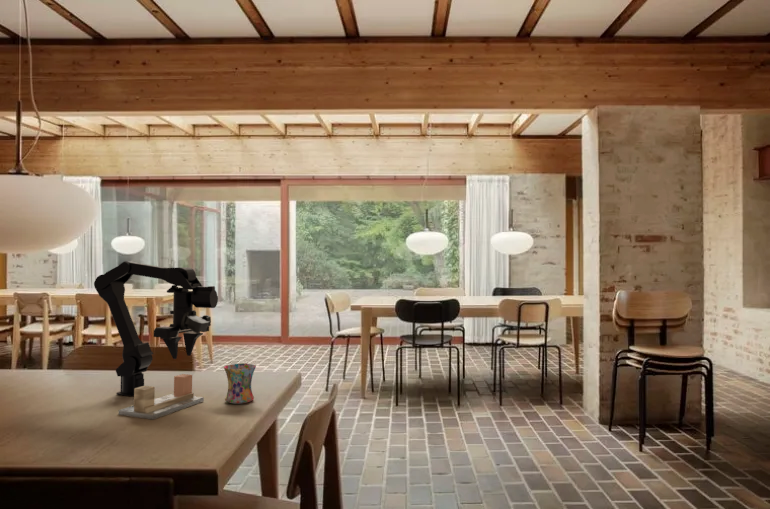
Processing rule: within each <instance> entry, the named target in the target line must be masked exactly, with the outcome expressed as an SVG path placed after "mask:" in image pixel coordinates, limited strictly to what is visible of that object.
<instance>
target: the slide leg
mask: <svg viewBox="0 0 770 509" xmlns="http://www.w3.org/2000/svg"><path fill="white" fill-rule="evenodd" d="M189 393H193V374H187V373H181V374H179V375H174V377H173V394H174V397H180V396H183V395H186V394H189Z"/></svg>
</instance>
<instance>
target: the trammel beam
mask: <svg viewBox="0 0 770 509" xmlns="http://www.w3.org/2000/svg"><path fill="white" fill-rule="evenodd" d="M155 388H156V387H155V386H149V385H144V386H142V387H138V388H135V389H134V396H133V405H134V411H140V412H145V413H148V412H151V411H154V410H157V409H160V408H163V407H166V406H169V405H172V404H175V403H178V402H181V401H184V400H187V399H190V398H193V397H194V396H195V394H194V392H192V393H189V394H186V395H183V396H180V397H177V398H174V399H171V400H167V401H164V402H161V403H158V404H155V405H154V399H155V398H156V396H155V393H156V391H155V390H156V389H155Z"/></svg>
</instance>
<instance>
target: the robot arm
mask: <svg viewBox="0 0 770 509" xmlns="http://www.w3.org/2000/svg"><path fill="white" fill-rule="evenodd" d="M133 275H134V276H140V277H146V278H153V279H158V280H162V281H164V282H166V283H168V284H171V286H170V288H168V289H166V293H168V294H169V293H170V294H173V302H172V304H173V305H172V306H173V308H172V309H173V310H169V315H172V323H170V324H169V326H159V327H155V328H154V329H153V335H152V336H153V338H160V339H161V340H162V341H163V342H164V344H165V346H166V347H167V349H168V351H169V353H170V355H171V358H172V359H173V360H176V359H177V358H178V352H179V351H178V350H179V341H181V339H182V336H183V342H184V346H185V352H186V355H187V356H192V353H193V350H194V347H195V344H196V342H197V340H198V338H200V336H203V335H204V333H206V332H210V326H212V319H211V316H210V315H208V314H206V315H202V316H198V315H197V311H196V310H193V308H194V307H195V308H197V309H199V308H201V309H215V308H216V307H217V305H218V303H219V302H218V301H219V296H218V293H217V291H216V287H215V285H210V286H209V285H208V286H203V284H202V283H201V281H200V280H199V279H198V277H197V274H196V272H195V269H194V268H191V267H189V266H188V267H166V266H165V267H164V266H158V265H154V264H153V265H151V264H147V263H141V262H136V261H134V260H133V261H131V260H130V261H128V260H125V261H123V262H121V263H120V264H118V265H117V266H115V267H114V268H111V269H110V270H108V271H106V272H105V273H104V274H100V275H98V276H97V277H96V278H95V280H94V282H93V285H94V286H93V287H94V289H95V290H96V292H97V295H98V296H99V297H100V298H101V299H102V300H103V301H104V302H106V303H107V305H108V308H109V311H110V314H111V317H112V319H113V321H114V323H115V326H116V329H117V331H118V335H119V337H120V340H121V343H122V353H121V354H122V363H121V364H120V365H119V366H117V368H116V369H115V373H116V375H117V377H120V391H118V392H115V394H116V395H118V396H120V395H121V396H126V397H134V389H135V388H138V387H142V386H145V378H144V373H145V372H147V371H148V369H149V368H148V367H149V366H150V365H151V364H152V362H153V358H154V357H153V355H154V352H153V351H152V349H151V346H150V344H149V342H148V341H147V342H143V341H142V340H141V339H140V337H139V335H138V332H137V329H136V327H135V324H134V322H133V319H132V315H131V313H130V312H129V309H128V306H127V304H126V301H125V291H126V288H125V287H126V286H125V284H126V283H127V282H128V281H129V280H130V279H131V278H132V277H133ZM181 333H182V336H179V334H181Z"/></svg>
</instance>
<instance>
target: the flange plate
mask: <svg viewBox="0 0 770 509" xmlns="http://www.w3.org/2000/svg"><path fill="white" fill-rule="evenodd" d="M174 398H177V397H174V393H169V394H166V395H163V396H160V397H157V398H156V397H155V398H154V405H155V404H158V403H161V402H164V401H167V400H171V399H174ZM204 399H205V398H204V396H196V395H194V397H193V398H190V399H187V400H184V401H181V402H178V403H175V404H172V405H169V406H166V407H163V408H160V409H157V410H154V411H151V412H148V413H145V412H140V411H134V404H133V405H131V406H127V407H125V408H124V407H123V408H121V409H118V414H117V415H120V416H126V417H133V418H141V419H147V420H155V419H158V418H161V417H163V416H164V417H165V416H166V415H170V414H172V413H175V412H178V411H180V410H183V409H186V408H189V407H191V406H195V405H197V404H200V403H202V402H203V403H204Z"/></svg>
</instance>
